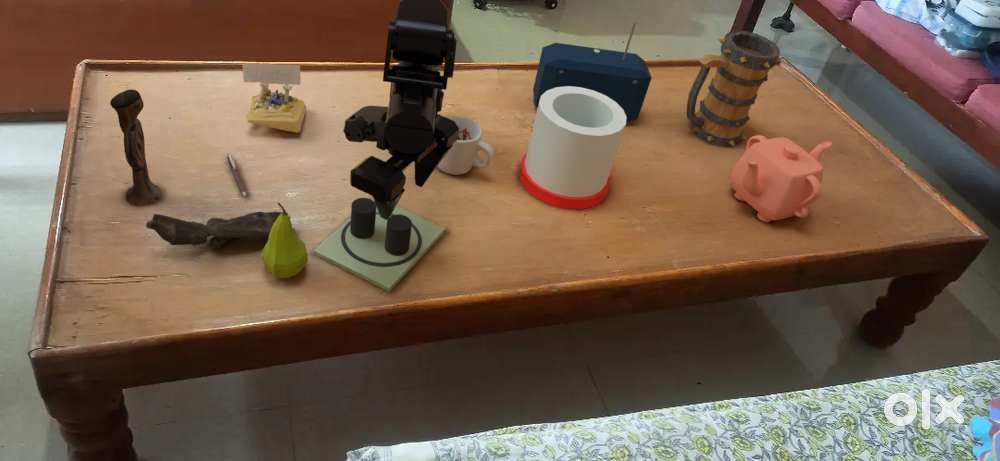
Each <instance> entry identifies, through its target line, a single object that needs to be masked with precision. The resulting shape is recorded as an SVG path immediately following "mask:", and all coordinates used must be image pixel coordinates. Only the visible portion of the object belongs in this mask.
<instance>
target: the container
mask: <svg viewBox="0 0 1000 461" xmlns="http://www.w3.org/2000/svg"><path fill="white" fill-rule="evenodd" d="M626 118H627V117H626V115H625V113H624V110H623V109H622V108H621V107H620V106H619V105H618V104H617V103H616V102H615V101H613V100H612V99H610V98H609V97H607V96H606V95H603V94H601V93H598V92H596V91H594V90H590V89H586V88H581V87H571V86H565V87H556V88H553V89H550V90H547V91H546V92H545V93H544V94H543V95H541V98H540V101H539V105H538V108H537V109H536V114H535V118H534V122H533V127H532V131H531V135H530V138H529V143H528V148H527V151H526V153H524V154H523V155H522V159H521V163H520V167H519V171H518V175H519V180H520V183H521V184H522V186H523V188H524V189H526V191H527V193H530V195H532V196H533V197H534V198H536V199H537V200H539V201H541V202H543V203H546V204H547V205H549V206H553V207H558V208H562V209H565V210H566V209H568V210H583V209H587V208H593V207H594V206H596V205H598V204H600V203H601V202H602V201H603V200H604V198H606V197H607V194H608V190H609V188H610V183H611V176H610V173H611V171H612V167H613V164H614V161H615V158H616V155H617V152H618V149H619V146H620V143H621V140H622V138H623V134H624V132H625V128H626V124H627V123H626Z"/></svg>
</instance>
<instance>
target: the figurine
mask: <svg viewBox="0 0 1000 461" xmlns="http://www.w3.org/2000/svg"><path fill="white" fill-rule="evenodd" d="M109 105H110V106H111V108H112V109H113V110H115V112H116V115H117V120H118V124H119V129H120V130H121V132H122V134H123V148H124V155H125V160H126V163H127V164H128V165H129V167H130V168H131V170H132V183H133V184H132V186H131V187H130V188H128V190H127V191H126V192H125V195H124V198H125V201H126V203H128V204H129V205H131V206H136V207H137V206H138V207H140V206H141V207H142V206H147V205H151V204H154V203H156V202H158V201H160V199H161V198H162V194H163V192H162V190H161V188H160V187H159V186H158V185H156V184H154V183H153V181H151V179H150V175H149V168H148V163H147V160H146V147H145V146H146V145H145V144H146V142H145V134H144V130H143V125H142V122H141V121H140V119H139V118H138V117H139V115H140V113H141V112H142V111H143V109H144V101H143V98H142V95H141V94H140V92H139V91H138V90H136V89H131V88H130V89H127V90H124V91H121V92H119V93H117V94H116V95H115V96H113V97H112V98H111V99H110V102H109Z"/></svg>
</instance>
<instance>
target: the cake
mask: <svg viewBox="0 0 1000 461" xmlns="http://www.w3.org/2000/svg"><path fill="white" fill-rule="evenodd" d="M242 73H243V74H242V78H243V79H242V80H243V83H260V84H259V87H260V91H259V94H256V95H253V96H251V103H250V110H249V113H247V115H246V122H247V123H250V124H253V125H258V126H263V127H268V128H272V129H276V130H281V131H286V132H290V133H300V132H301V129H302V126H303V122H304V119H305V115H306V111H307V105H306V103H305V102H304V100H301V99H300V98H299V99H298V97H295V96H292V95H290V90H292V89H293V86H295V85H301V65H300V64H289V65H288V64H274V63H271V64H257V63H256V64H254V63H242ZM274 84H275V85H282V89H283V90H284V93H283V92H281V91H280V92H279V89H276V90H275V91H272V90H271V89H269V85H274ZM168 119H172V117H168Z"/></svg>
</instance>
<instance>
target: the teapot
mask: <svg viewBox="0 0 1000 461" xmlns="http://www.w3.org/2000/svg"><path fill="white" fill-rule="evenodd" d="M832 145H833V143H832V142H831V141H830V140H829V141H828V140H826V141H823V142H820V143H819V144H818V145H817V146H815V148H813V149H812V150H811V151H810V152H807V151H806V150H805V149H803V148H802V147H800V146H799V145H798V144H796V143H795V142H793V141H792V140H790V139H788V138H787V137H784V136H782V137H774V138H767V137H766V136H764V135H761V134H756V135H753V136H751V137H750V138H749V139H748V140H747V142H746V147H745V152H744V153H743V155H742V156H741V157H740V158H739V160H738V161H737V163H736V165H735V166H734V168H733V170H732V172H731V173H730V186H731V188H732V189H733V190H734V191H735V192H734V193H733V196H734V198H736V199H737V200H739V201H742V202H745V203H747V205H749V206H750V207H752V208H753V209H754V210H755V211H756V212H758V213H757V215H756V216H757V218H758V219H759V220H760V221H762V222H765V223H770V222H771V221H779V220H784V219H788V218H791V217H794V216H795V217H797V218H800V219H804V218H806V217H807V216H808V215H809V209H810V208H811V207H812V206H813V204H814V203H815V202H816V200H817V199H818V198H819V197H820V196H821V194H822V192H823V191H822V190H823V189H822V181H823V175H824V167H823V165H822V164H821V163H820V162H819V161H820V159H821V157H822V156H823V155H824V153H825V151H826V150H828V149H829V148H830V147H831V146H832Z"/></svg>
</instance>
